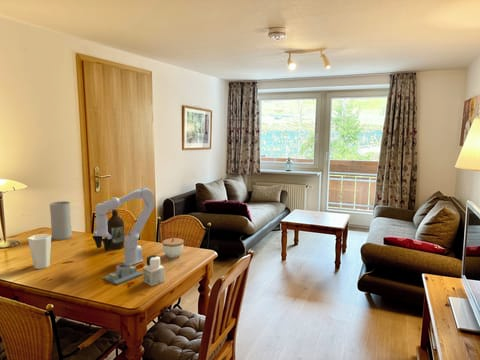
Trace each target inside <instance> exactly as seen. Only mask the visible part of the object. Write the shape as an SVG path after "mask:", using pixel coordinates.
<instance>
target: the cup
mask: <svg viewBox="0 0 480 360" xmlns="http://www.w3.org/2000/svg"><path fill="white" fill-rule="evenodd" d="M27 241H28V247H29V250H30V254H31V255H30V256H31V260H32V263H33V268H34V269H37V270H39V269H40V270H41V269H45V268H46V269H47V268H48V267H50V264H51V263H50V261H51V245H52V234H49V233H41V234H34V235H32V236H30V237H29V236H28V237H27Z"/></svg>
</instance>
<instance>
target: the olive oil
mask: <svg viewBox="0 0 480 360" xmlns="http://www.w3.org/2000/svg"><path fill="white" fill-rule="evenodd" d="M111 211H112V212H111V214H112V215H111V217H110V218H109V219H107V226H108V233H109V234H110V235H111V236H112V238H113V240H112V241H111V244H110V248H109V250H121V249H123V248H124V247H125V242H124V237H125V222H124V219H123V218H122V217H121V216H119V215H118V208H115V209H113V210H111Z"/></svg>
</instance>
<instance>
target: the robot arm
mask: <svg viewBox="0 0 480 360" xmlns="http://www.w3.org/2000/svg"><path fill="white" fill-rule="evenodd" d="M133 199H136V200H137V199H139V200H141V199H142V201H143V203H144V207H143V208H142V209H141V212H140V214H139V215H138V218H137V219H136V221H135V223H134V225H133V227H132V228H131V230H130V231H129V232H128V234H126V235H124V247H123V248H124V249H123V251H124V260H122V261H121V264H126V265H129V266H133V265H135V264H138V263H141V262H143V261H144V259H143V248H142V246H141V245H140V244H138V241H139V238H140V236H141V235H140V234H141V232H142V230H143V229H144V227H145V225H146V223H147V221H148V220H149V218H150V216H151V214H152V212H153V210H154V208H155V194H154V192H153V191H152V190H151V189H150V188H148V187H146V186H145V187H141V188H137V189H136V190H134V191H131V192H129V193H126V194H125V195H123V196H121V197H116V196H115V197H114V196H112V197H110V199H108V200H106V201H102V203H101V202H99V203H97V204H96V205H95V207H94V211H95V227H96V230H94V231H93V235H92V239H93V241H94V242H95V245H96V248H97V249H101V248H102V246H103V249H104V252H108V251H110V249H109V248H110V244H111V241H112V240H113V238H112V236H111V235H110V234H109V233H108V226H107V221H108V216H107V213H108V212H111V211H112V210H113V209H118V208H119V207H120V206H122V204H123V203H127V202H129V201H132V200H133Z"/></svg>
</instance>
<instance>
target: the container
mask: <svg viewBox="0 0 480 360" xmlns="http://www.w3.org/2000/svg"><path fill="white" fill-rule="evenodd" d="M142 273H143V275H142V276H143V277H142V278H143V280H142V281H143V282H144V283H146V284H147V285H149V286H151V287H152V286H153V287H154V286H155V285H159V284H161V283H164V282H165V280H166V278H165V266H163V265H161V256H159V255H157V254H155V255H149V256H147V257H146V265H144V266H143V267H142Z"/></svg>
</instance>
